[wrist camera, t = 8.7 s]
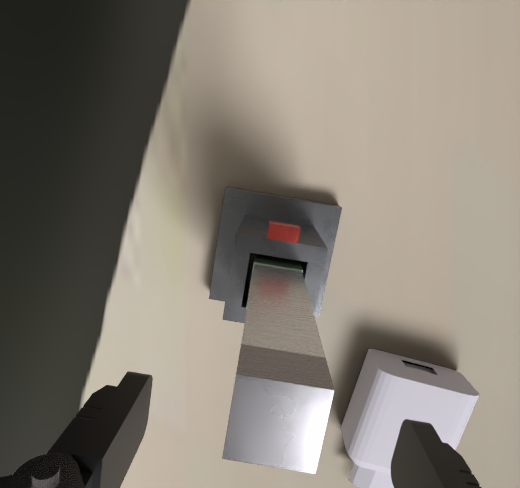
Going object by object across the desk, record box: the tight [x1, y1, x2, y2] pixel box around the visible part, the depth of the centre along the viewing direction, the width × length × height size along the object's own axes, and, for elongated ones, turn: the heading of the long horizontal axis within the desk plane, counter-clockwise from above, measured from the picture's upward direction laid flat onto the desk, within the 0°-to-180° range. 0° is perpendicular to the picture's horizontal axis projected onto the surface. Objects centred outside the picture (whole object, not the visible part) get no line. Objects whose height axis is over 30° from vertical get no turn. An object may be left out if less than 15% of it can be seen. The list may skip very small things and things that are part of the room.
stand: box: [209, 187, 342, 323], centre depth 31 cm, size 10×10×10 cm
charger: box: [341, 349, 479, 488], centre depth 37 cm, size 5×9×15 cm
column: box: [222, 254, 334, 474], centre depth 20 cm, size 3×3×17 cm
